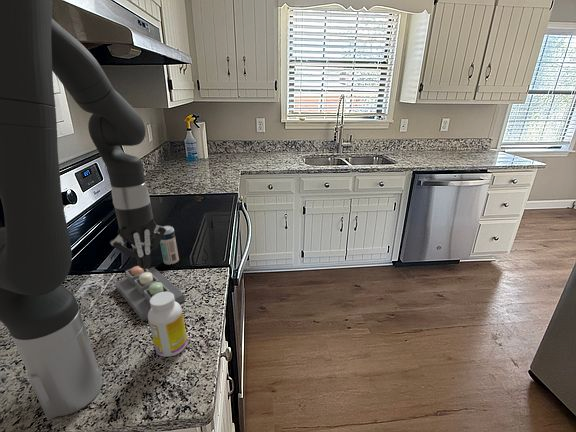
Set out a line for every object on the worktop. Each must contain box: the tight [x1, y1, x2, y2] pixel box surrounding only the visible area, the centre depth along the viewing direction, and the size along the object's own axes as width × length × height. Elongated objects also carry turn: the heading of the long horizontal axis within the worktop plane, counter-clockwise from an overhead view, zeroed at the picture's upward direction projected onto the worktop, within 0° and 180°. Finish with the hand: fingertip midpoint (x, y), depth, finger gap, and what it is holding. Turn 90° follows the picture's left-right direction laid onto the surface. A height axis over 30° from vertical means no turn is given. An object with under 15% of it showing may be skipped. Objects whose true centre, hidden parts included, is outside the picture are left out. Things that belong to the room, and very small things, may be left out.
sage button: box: [149, 282, 164, 297], centre depth 79 cm, size 3×3×3 cm
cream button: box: [139, 272, 153, 286], centre depth 84 cm, size 3×3×3 cm
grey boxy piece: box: [114, 266, 186, 322], centre depth 85 cm, size 11×19×4 cm, turn 44°
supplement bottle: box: [147, 292, 188, 358], centre depth 66 cm, size 7×7×13 cm
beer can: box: [159, 225, 180, 266], centre depth 99 cm, size 5×5×12 cm
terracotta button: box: [130, 265, 144, 276], centre depth 88 cm, size 3×3×3 cm
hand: (145, 267), depth 78 cm, fingers closed
